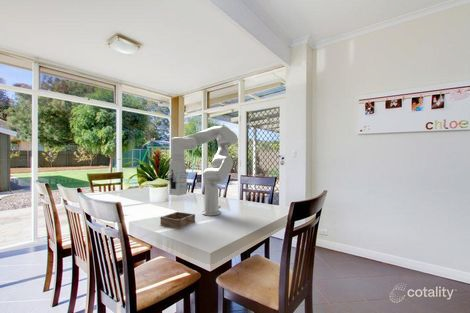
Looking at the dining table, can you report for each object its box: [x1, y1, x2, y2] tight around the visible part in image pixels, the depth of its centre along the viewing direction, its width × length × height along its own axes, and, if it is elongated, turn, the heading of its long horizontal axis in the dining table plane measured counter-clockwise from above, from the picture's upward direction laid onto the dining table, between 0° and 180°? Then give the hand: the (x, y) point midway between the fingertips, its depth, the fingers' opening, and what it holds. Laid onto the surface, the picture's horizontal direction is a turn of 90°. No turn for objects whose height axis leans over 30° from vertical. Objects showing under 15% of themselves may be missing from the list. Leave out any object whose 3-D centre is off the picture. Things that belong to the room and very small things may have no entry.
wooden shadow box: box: [159, 211, 196, 229], centre depth 130 cm, size 14×14×4 cm
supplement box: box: [168, 172, 188, 196], centre depth 130 cm, size 7×7×13 cm
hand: (178, 187), depth 130 cm, fingers closed on supplement box, 7 cm apart
